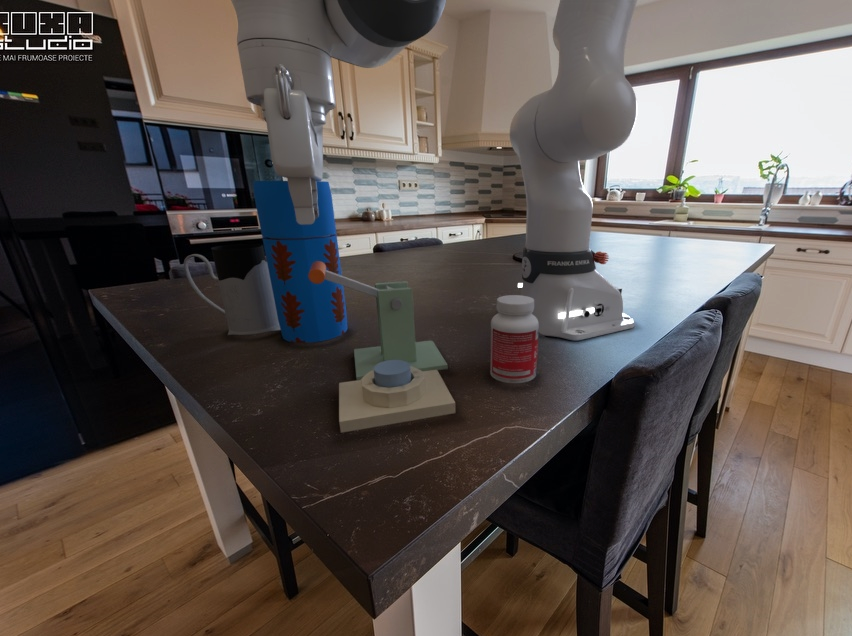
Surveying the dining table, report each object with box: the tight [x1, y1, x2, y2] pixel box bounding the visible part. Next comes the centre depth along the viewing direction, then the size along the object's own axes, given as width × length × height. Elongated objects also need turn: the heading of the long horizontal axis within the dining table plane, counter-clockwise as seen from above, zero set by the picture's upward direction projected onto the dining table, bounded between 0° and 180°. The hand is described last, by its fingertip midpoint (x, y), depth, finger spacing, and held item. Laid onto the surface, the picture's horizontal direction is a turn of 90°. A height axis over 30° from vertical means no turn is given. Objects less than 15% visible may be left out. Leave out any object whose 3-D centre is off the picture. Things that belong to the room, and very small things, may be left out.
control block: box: [338, 366, 456, 434], centre depth 45 cm, size 12×9×4 cm
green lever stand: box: [353, 280, 449, 381], centre depth 55 cm, size 12×10×12 cm
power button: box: [374, 360, 411, 388], centre depth 44 cm, size 4×4×2 cm
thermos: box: [252, 180, 348, 344], centre depth 64 cm, size 11×11×25 cm
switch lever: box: [308, 261, 393, 298], centre depth 52 cm, size 12×6×2 cm, turn 109°
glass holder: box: [183, 243, 281, 336], centre depth 68 cm, size 9×14×15 cm, turn 89°
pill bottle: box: [489, 294, 539, 384], centre depth 51 cm, size 6×6×11 cm
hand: (309, 221), depth 47 cm, fingers open, 8 cm apart
